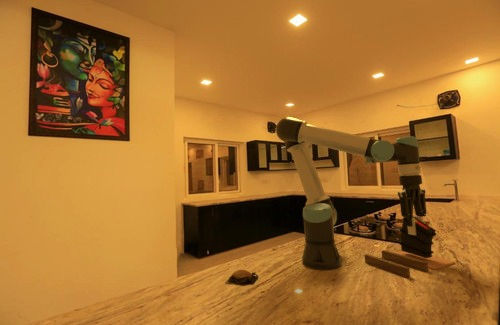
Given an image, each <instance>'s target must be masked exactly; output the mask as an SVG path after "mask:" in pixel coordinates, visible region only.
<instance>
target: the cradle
mask: <svg viewBox="0 0 500 325" xmlns="http://www.w3.org/2000/svg"><path fill="white" fill-rule="evenodd" d="M381 257H382V258H381ZM381 257H378V256H375V255H371V254H367V253H366V254H364V263H365V264H368V265H370V266H373V267H377V268H379V269H382V270H385V271H387V272H391V273H393V274H396V275H399V276H401V277H404V278H407V279H408V278H411V272H410V270H411V269H410V268H412V269H416V270H419V271H421V272H424V273H425V272H427V273H428V272H429V271H430V269H429V268H428V262H425V261H422V260H418V259H414V258H411V257H407V256H404V255H400V254H396V252H392V251H389V250H386V249H382V250H381Z"/></svg>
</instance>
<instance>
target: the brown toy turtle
mask: <svg viewBox="0 0 500 325" xmlns="http://www.w3.org/2000/svg"><path fill="white" fill-rule="evenodd" d="M258 279H259V275H258V274H257V273H255V272H252V273H251V271H248V270H245V269H237V270H235V271H234V272H233V273H232V274H231V276H229V277H228V279H227V280H226V281H225V285H226V284H227V285H235V286H238V285H239V286H252V285H255V283H257V281H258Z"/></svg>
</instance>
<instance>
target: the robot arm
mask: <svg viewBox="0 0 500 325" xmlns="http://www.w3.org/2000/svg"><path fill="white" fill-rule="evenodd" d="M275 133H276V135H277V137H278V139H279V140H281V141H282V142H283V143H284V146H285V148H286V152H288V153H290V154H291V157H292V160H293V162H294V164H295V167H296V172H297V174H298V176H299V179H300V182H301V186H302V188H303V190H304V191H303V192H304V194H305V198H306V199H307V200H306V202H305V206H304V207H302V218H303V231H304V241H305V243H304V244H305V245H304V248H303V253H302V256H301V257H302V259H301V262H302V264H303V266H305V267H307V268H308V269H309V268H310V269H313V270H320V271H321V270H323V271H325V270H334V269H337V268H339V267H341V265H342V259H341V256H340V253H339V250H338V248H337V246H336V242H335V230H334V226H335V225H336V223H337V220H338V212H337V209H336V208H335V207H334V205H333V202H332V200H331V197H330V196H329V195H327V194H325V193H326V192H325V190H324V187H323V185H322V182H321V179H320V177H319V174H318V171H317V169H316V165H315V163H314V160H313V157H312V154H311V151H310V149H309V146H310V145H311V144H312V145H315V146H319V147H324V148H328V149H332V150H335V151H340V152H343V153H347V154H350V155H355V156H359V157H363V158H364V159H365V163H367V164H378V163H392V162H397V170H398V175H400V176H399V178H398V180H399V185H400V186H402V189H401V191H398V192H397V195H398V197H399V205H400V207H399V208H400V215H401V217H402V218H406V221H407V227H408V234H411V235H416V226H415V218H417V219H418V220H420V221H421V222H423V223H424V218H425V217H426V216H427V215H426V214H427V205H426V203H427V202H426V189H422V188H421V186H420V185H422V184H423V179H422V175H421V173H422V170H421V164H420V163H421V162H420V154H419V153H420V152H419V143H418V139H417V137H415V136H402V137H397V138H396V139H395V140H394V143H392V142H390V141H388V140H385V139H380V140H379V139H376V138H370V137H365V136H361V135H358V134H352V133H348V132H345V131H344V132H343V131H339V130H335V129H331V128H330V129H329V128H326V127H322V126H317V125H312V124H308V122H307V121H306V120H302V119H298V118H296V117H290V116H286V117H283V118H282V119H280V120H279V121H278V123H277V124H276V126H275ZM414 212H415V215H414ZM413 217H415V218H413Z"/></svg>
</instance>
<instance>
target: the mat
mask: <svg viewBox="0 0 500 325" xmlns="http://www.w3.org/2000/svg"><path fill="white" fill-rule="evenodd" d="M395 253H396V254H400V255H404V256H407V257H411V258H414V259H418V260H422V261H425V262H428V269H429V270H432V271H436V270H440V269H443V268H445V267H446V268H447V267H448V266H451V265H452V266H453V265H456V261H453V260H449V259H446V258H441V257H438V256H434V255H432V257H430V258H424V257H421V256H417V255H414V254H411V253H408V252H404V251H402V250H401V251H397V252H395Z"/></svg>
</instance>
